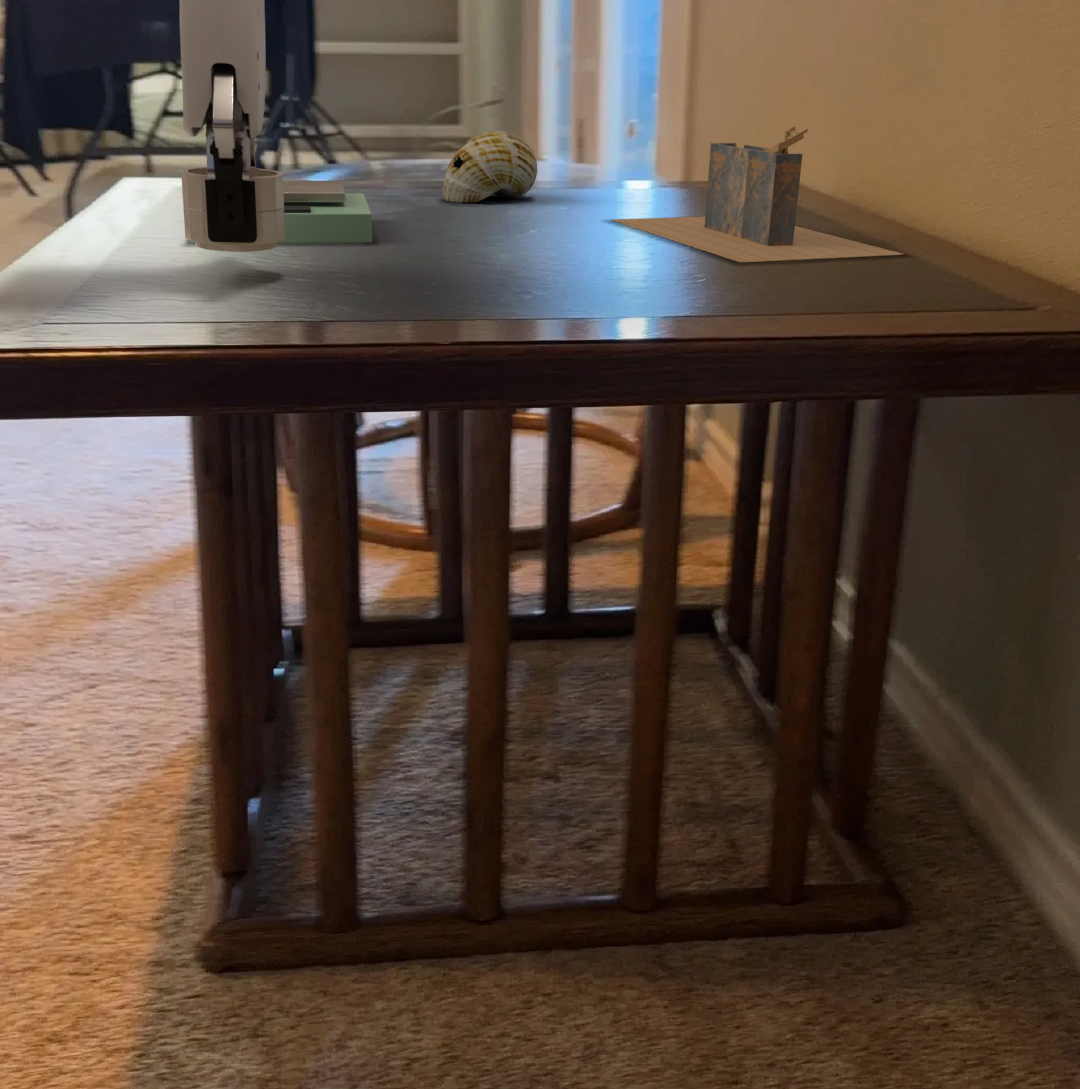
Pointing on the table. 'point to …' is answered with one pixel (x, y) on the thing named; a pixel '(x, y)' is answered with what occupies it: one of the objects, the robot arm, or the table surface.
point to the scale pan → (314, 191)
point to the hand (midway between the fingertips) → (235, 231)
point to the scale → (328, 221)
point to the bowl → (267, 210)
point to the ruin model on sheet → (754, 210)
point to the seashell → (490, 168)
